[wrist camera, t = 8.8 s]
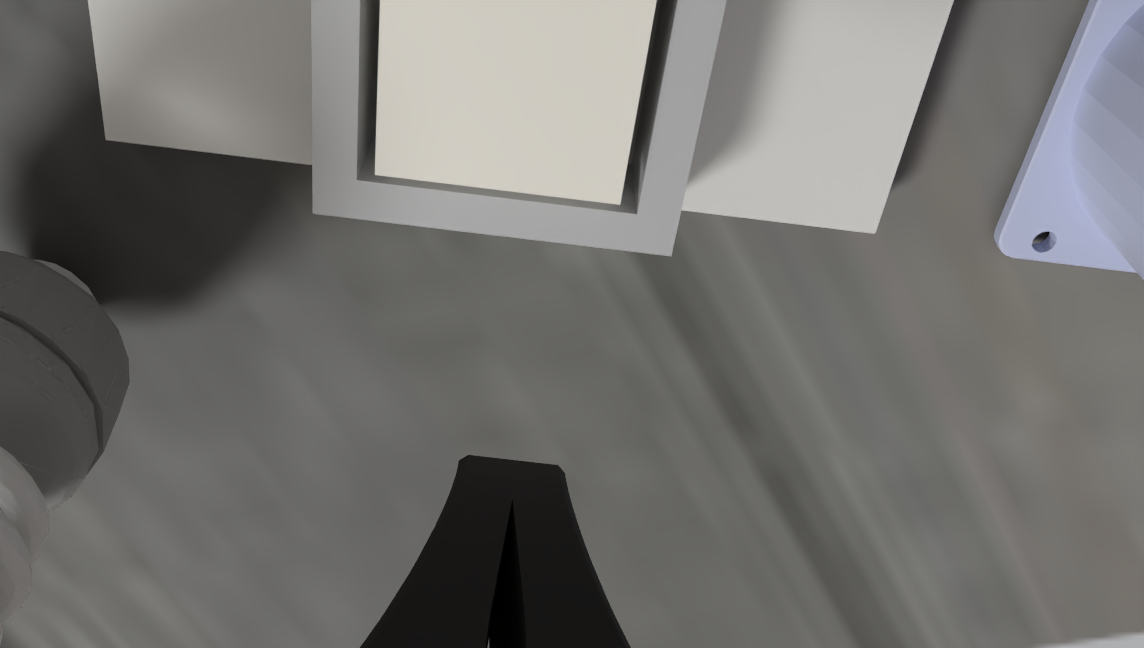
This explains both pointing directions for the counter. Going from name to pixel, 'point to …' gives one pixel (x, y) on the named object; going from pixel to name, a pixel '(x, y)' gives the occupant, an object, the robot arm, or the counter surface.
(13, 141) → the counter surface
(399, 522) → the counter surface
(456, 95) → the key ivory
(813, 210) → the keypad
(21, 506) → the light bulb
